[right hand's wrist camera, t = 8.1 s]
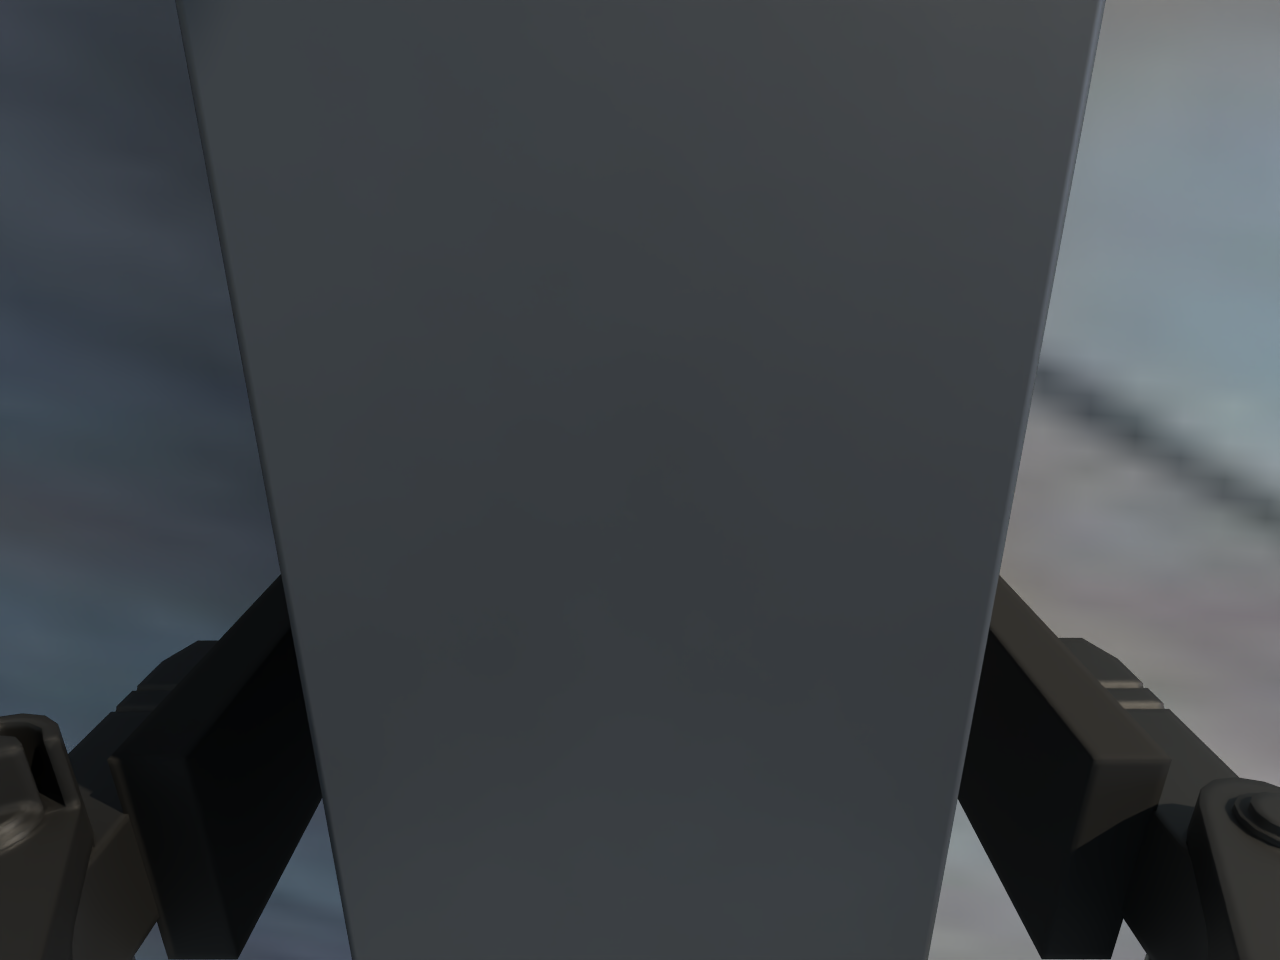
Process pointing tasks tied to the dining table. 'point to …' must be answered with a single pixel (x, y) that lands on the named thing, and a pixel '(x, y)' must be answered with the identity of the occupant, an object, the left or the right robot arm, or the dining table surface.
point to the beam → (640, 442)
